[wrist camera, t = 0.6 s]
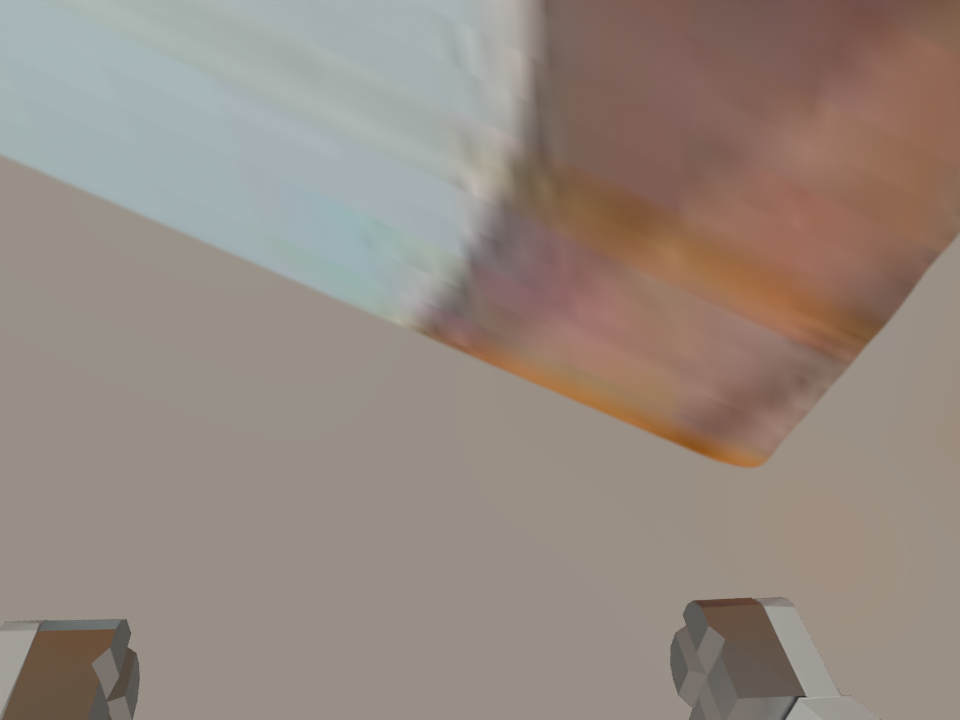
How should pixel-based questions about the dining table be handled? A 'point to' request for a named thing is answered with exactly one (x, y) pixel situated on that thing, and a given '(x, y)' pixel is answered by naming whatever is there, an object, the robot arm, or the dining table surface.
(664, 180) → the dining table surface
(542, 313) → the dining table surface
